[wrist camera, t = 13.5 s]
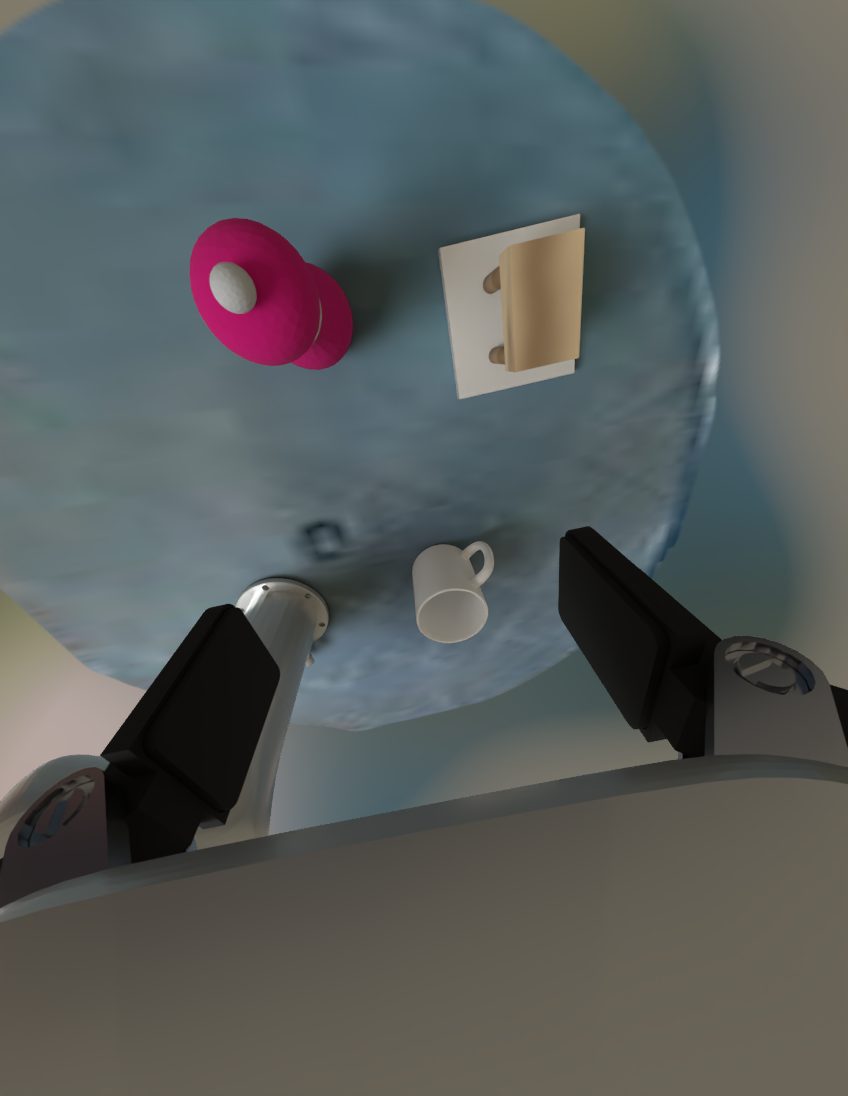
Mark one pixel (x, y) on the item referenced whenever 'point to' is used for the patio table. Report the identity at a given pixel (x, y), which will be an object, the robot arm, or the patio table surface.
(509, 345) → the pegged wooden block
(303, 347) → the pepper mill
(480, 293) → the tile
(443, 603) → the cup
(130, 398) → the patio table surface
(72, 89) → the patio table surface
